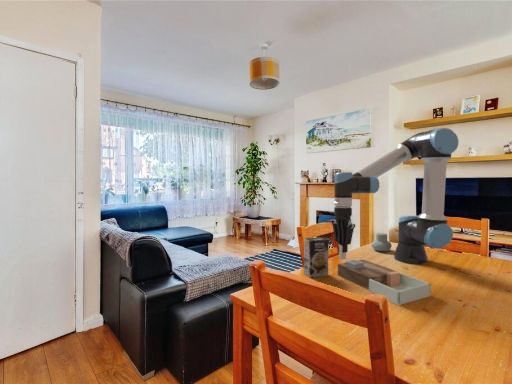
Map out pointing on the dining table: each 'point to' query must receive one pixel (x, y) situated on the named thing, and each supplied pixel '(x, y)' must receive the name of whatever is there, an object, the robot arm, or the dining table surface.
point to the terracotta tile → (393, 279)
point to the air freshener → (381, 243)
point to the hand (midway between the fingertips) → (342, 258)
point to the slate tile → (355, 264)
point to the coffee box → (316, 256)
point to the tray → (402, 290)
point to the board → (364, 273)
